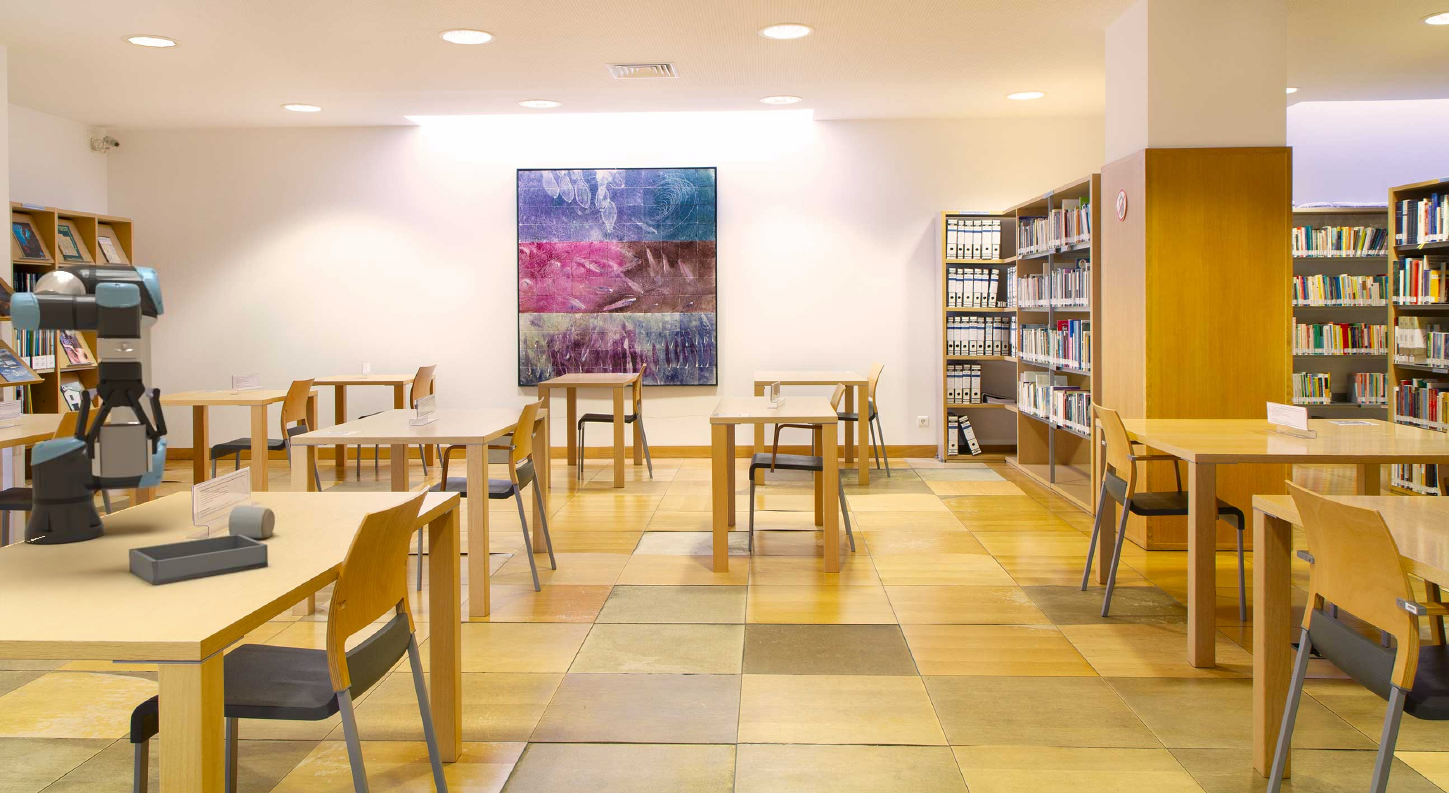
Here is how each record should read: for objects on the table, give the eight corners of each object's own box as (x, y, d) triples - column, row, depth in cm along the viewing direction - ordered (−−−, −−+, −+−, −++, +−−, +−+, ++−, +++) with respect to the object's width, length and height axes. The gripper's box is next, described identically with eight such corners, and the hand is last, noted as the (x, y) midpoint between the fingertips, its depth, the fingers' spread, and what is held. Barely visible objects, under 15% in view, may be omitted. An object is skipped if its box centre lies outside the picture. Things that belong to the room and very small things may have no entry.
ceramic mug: (264, 541, 219) (264, 508, 218) (227, 541, 218) (227, 508, 217) (281, 532, 229) (281, 501, 229) (246, 532, 228) (246, 501, 228)
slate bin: (129, 571, 190) (129, 549, 190) (239, 554, 206) (239, 533, 205) (154, 585, 180) (153, 562, 180) (267, 566, 195) (267, 544, 195)
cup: (94, 478, 185) (93, 427, 185) (100, 472, 193) (99, 423, 192) (144, 476, 189) (143, 426, 188) (149, 470, 196) (147, 422, 196)
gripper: (60, 361, 179) (64, 480, 180) (184, 360, 194) (186, 470, 196) (51, 360, 184) (55, 476, 186) (172, 359, 200) (175, 466, 201)
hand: (122, 472), depth 191 cm, fingers closed on cup, 8 cm apart
